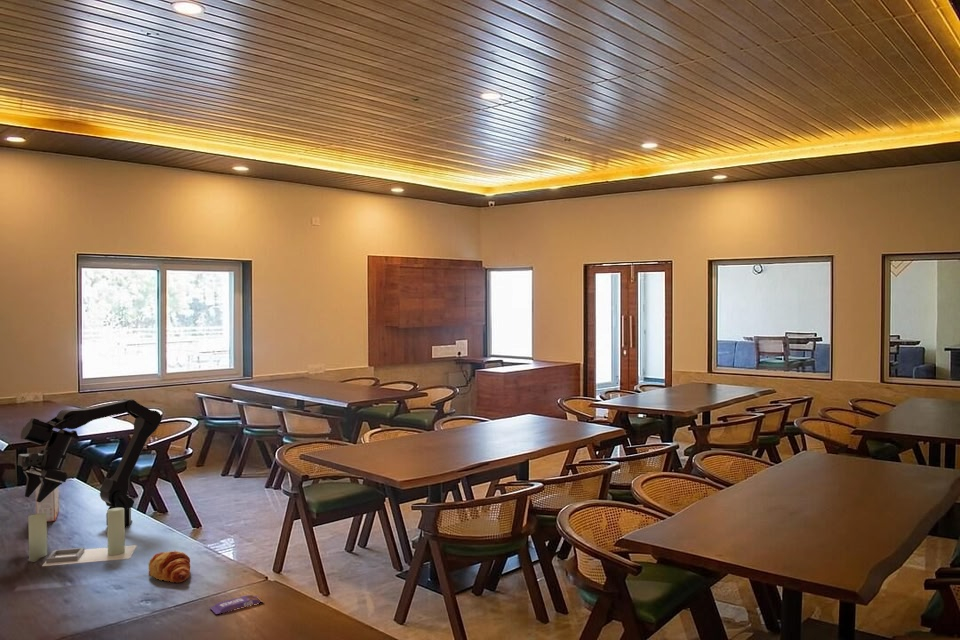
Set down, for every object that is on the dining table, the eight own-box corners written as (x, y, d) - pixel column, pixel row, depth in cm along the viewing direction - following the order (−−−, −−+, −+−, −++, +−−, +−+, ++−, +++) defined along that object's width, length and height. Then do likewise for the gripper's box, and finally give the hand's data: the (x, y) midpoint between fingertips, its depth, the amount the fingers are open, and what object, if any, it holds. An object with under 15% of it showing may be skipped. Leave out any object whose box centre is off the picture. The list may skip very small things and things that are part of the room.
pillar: (49, 555, 212) (48, 512, 212) (44, 560, 208) (43, 516, 208) (31, 557, 211) (31, 513, 211) (26, 562, 207) (26, 518, 206)
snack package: (216, 610, 170) (209, 603, 174) (216, 618, 171) (209, 611, 174) (264, 597, 178) (256, 591, 182) (264, 605, 178) (257, 599, 182)
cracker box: (39, 513, 256) (38, 453, 256) (59, 510, 259) (58, 451, 259) (34, 523, 244) (33, 460, 243) (55, 521, 246) (54, 459, 246)
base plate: (137, 548, 218) (137, 541, 218) (129, 561, 207) (129, 554, 207) (54, 555, 212) (53, 547, 212) (41, 569, 201) (41, 561, 201)
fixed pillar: (126, 549, 214) (125, 507, 214) (123, 554, 210) (122, 511, 210) (109, 551, 213) (108, 508, 213) (106, 556, 209) (105, 512, 208)
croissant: (145, 580, 203) (130, 557, 200) (177, 555, 209) (163, 533, 206) (175, 600, 187) (159, 576, 185) (209, 573, 193) (194, 549, 191)
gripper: (17, 438, 226) (-7, 488, 221) (41, 445, 214) (16, 498, 210) (53, 448, 234) (30, 497, 229) (77, 455, 222) (54, 507, 217)
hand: (32, 499), depth 221 cm, fingers open, 9 cm apart
